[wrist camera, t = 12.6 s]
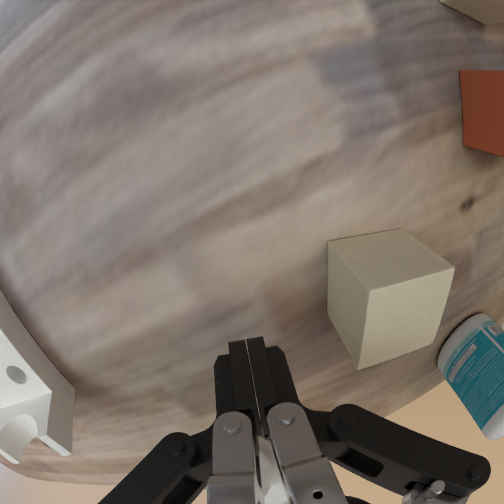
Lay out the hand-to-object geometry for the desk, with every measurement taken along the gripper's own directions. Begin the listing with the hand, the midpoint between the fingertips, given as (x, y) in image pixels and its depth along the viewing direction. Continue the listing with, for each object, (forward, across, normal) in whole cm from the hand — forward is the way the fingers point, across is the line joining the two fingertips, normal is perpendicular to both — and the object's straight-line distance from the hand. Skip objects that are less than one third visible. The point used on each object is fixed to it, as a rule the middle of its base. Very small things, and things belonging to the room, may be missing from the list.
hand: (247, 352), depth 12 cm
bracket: (+5, +18, +1) cm, 19 cm away
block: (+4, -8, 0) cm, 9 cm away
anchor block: (+4, -18, -10) cm, 21 cm away
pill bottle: (+5, -21, +11) cm, 24 cm away
